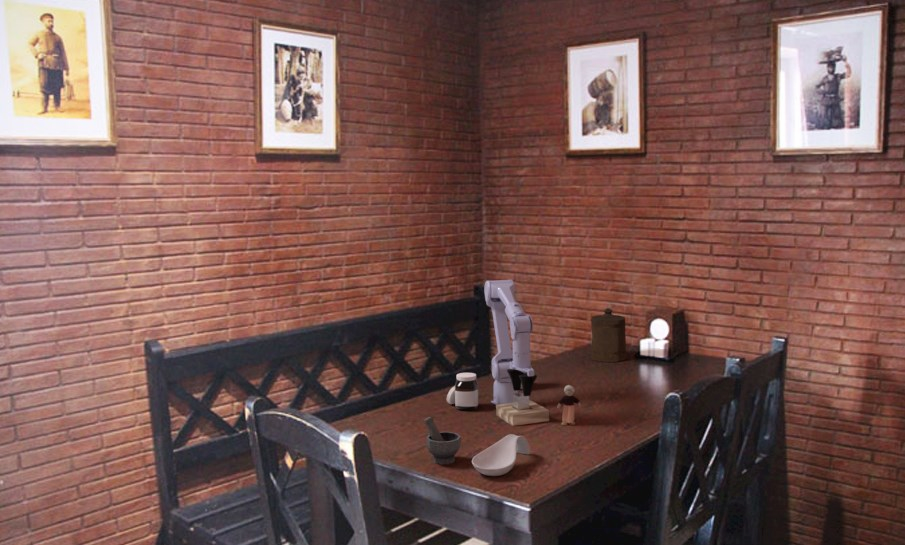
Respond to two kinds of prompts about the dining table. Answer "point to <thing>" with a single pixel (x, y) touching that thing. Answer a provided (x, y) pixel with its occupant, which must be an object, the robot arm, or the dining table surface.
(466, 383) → the spread jar
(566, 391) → the grandmother figurine
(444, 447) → the mortar and pestle
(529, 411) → the maple hole block
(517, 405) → the steel peg
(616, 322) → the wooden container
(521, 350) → the robot arm
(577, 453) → the dining table surface
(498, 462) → the spoon rest
